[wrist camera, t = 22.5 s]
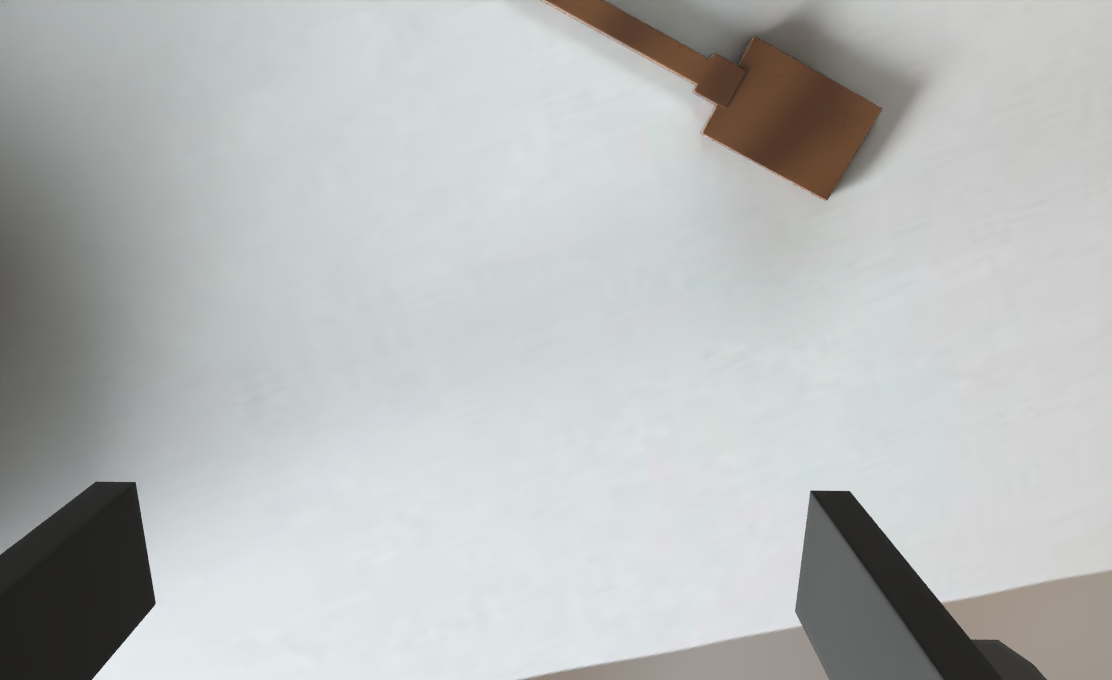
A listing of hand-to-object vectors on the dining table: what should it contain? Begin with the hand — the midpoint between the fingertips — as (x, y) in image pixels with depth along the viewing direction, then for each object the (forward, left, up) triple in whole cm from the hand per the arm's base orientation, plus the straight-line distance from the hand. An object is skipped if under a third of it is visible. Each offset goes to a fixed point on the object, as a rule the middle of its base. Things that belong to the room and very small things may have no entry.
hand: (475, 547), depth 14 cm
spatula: (+2, +14, -29) cm, 32 cm away
